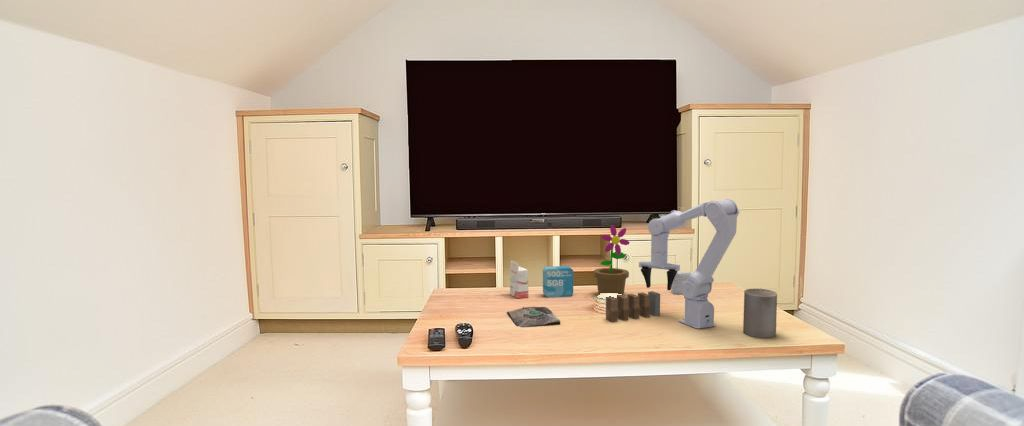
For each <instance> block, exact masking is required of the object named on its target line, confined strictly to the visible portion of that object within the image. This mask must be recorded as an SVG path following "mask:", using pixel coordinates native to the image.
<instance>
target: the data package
mask: <svg viewBox="0 0 1024 426" xmlns="http://www.w3.org/2000/svg"><path fill="white" fill-rule="evenodd" d="M542 293H543V295H544V296H545V297H547V298H563V297H565V298H567V297H571V296H573V295H574V269H573V268H572V267H570V266H569V265H562V266H561V265H559V266H555V265H554V266H545V267H543V268H542Z"/></svg>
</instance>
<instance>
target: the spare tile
mask: <svg viewBox="0 0 1024 426" xmlns="http://www.w3.org/2000/svg"><path fill="white" fill-rule="evenodd" d="M647 294H648V295H650V316H651V315H652V316H654V317H660V316H661V293H659V292H656V291H653V290H652V291H648V293H647Z"/></svg>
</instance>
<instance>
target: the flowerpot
mask: <svg viewBox="0 0 1024 426" xmlns="http://www.w3.org/2000/svg"><path fill="white" fill-rule="evenodd" d="M609 231H610V234H611V235H607V234H604V235H601V239H602V240H603V241H605V242H609V243H607V245H606V246H605V249H604V252H605V253H608V252H610V255H609V259H610V260H607V259H606V260H602V261H601V262H600V265H602V266H609V267H603V268H596V269H594V270H593V276H594V278H596V286H597V293H598V294H600V293H618V294H622V295H624V296H625V287H626V282H627V279H628V278H630V277H629V276H630V272H629V271H628V270H627V269H623V268H619V267H617V268H616V267H615V268H614V267H613V259H615V260H622V259H624V258H626V257H627V255H626V254H625V253H624V252H623V251H622V249H621V245H622V246H628V245H630V243H631V242H630V241H629V240H628V239H626V238H625V239H624V238H623V237H624V236H625V234H626V233H627V228H626V227H624V228H622V229H620V230H619V231H618V230H617V228H616V227H615V225H614V224H612V225H610V228H609ZM617 231H618V232H617ZM617 233H618V234H617ZM612 236H613V237H612ZM610 241H611V242H610ZM619 243H620V244H619ZM614 251H615V252H614Z"/></svg>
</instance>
